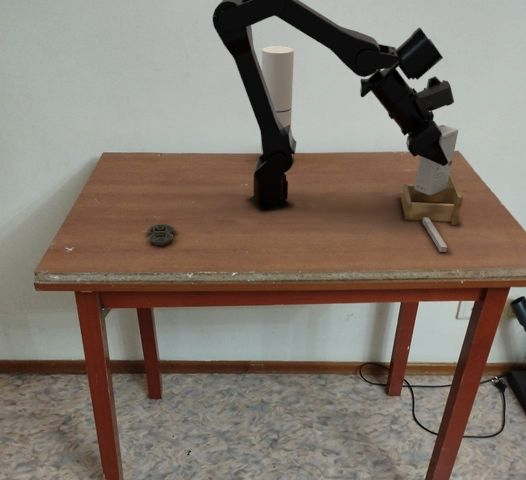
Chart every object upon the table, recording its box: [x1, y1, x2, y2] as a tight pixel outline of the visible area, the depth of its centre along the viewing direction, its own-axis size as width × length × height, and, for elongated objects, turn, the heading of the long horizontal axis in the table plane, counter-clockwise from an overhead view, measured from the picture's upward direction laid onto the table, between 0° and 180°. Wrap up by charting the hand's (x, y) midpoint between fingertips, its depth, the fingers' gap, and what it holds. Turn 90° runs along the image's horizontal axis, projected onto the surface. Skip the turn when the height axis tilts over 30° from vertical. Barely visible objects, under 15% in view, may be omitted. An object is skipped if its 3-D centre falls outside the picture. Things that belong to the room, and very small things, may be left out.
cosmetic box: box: [414, 124, 459, 195], centre depth 118 cm, size 6×4×12 cm
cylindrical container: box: [260, 45, 295, 156], centre depth 139 cm, size 7×7×25 cm
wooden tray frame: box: [400, 171, 464, 226], centre depth 123 cm, size 10×13×6 cm
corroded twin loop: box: [147, 223, 175, 246], centre depth 114 cm, size 5×8×1 cm, turn 8°
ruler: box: [421, 217, 448, 253], centre depth 115 cm, size 12×1×1 cm, turn 4°
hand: (443, 157), depth 118 cm, fingers closed on cosmetic box, 7 cm apart
